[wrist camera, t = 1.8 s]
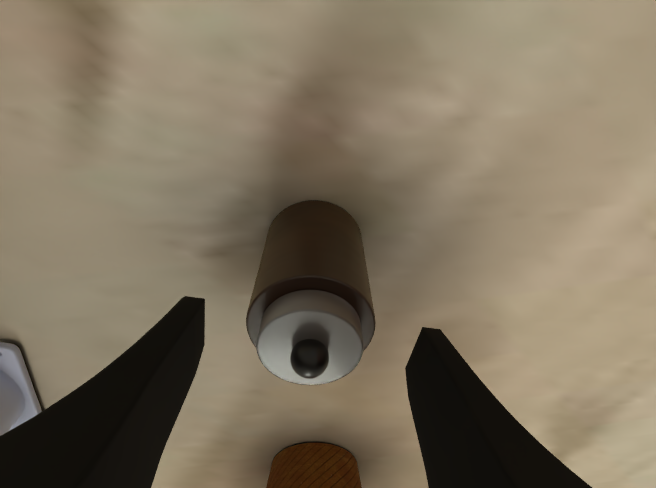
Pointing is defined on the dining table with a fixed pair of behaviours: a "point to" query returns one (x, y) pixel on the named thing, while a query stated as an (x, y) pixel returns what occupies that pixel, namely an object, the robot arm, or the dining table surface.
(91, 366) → the dining table surface
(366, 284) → the pepper mill
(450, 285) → the dining table surface
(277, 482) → the disposable coffee cup
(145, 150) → the dining table surface
